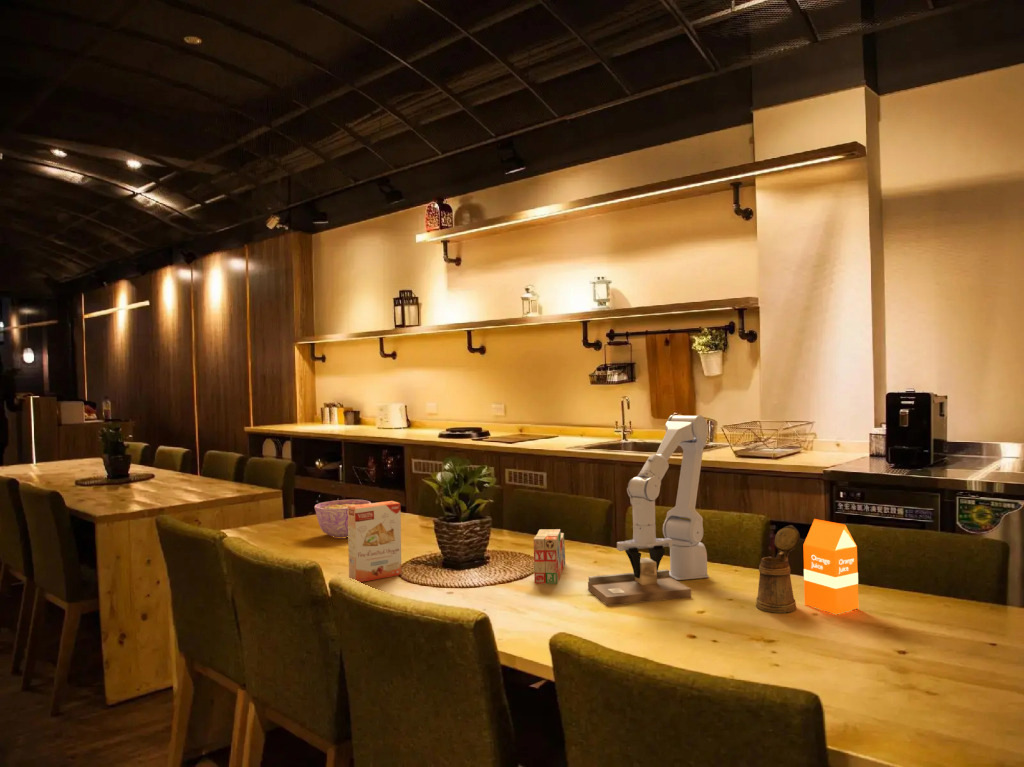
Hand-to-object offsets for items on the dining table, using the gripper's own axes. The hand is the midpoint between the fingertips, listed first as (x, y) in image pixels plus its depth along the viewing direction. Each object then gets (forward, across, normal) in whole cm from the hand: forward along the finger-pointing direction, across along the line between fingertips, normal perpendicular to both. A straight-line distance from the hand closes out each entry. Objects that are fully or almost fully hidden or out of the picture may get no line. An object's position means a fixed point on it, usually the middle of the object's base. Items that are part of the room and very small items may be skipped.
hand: (645, 576), depth 187 cm
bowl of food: (+4, -76, +96) cm, 122 cm away
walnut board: (+3, -3, -2) cm, 5 cm away
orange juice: (+4, +35, -26) cm, 44 cm away
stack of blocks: (+4, -19, +24) cm, 30 cm away
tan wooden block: (+1, 0, 0) cm, 1 cm away
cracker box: (+4, -67, +35) cm, 76 cm away
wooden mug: (+4, +25, -21) cm, 33 cm away
